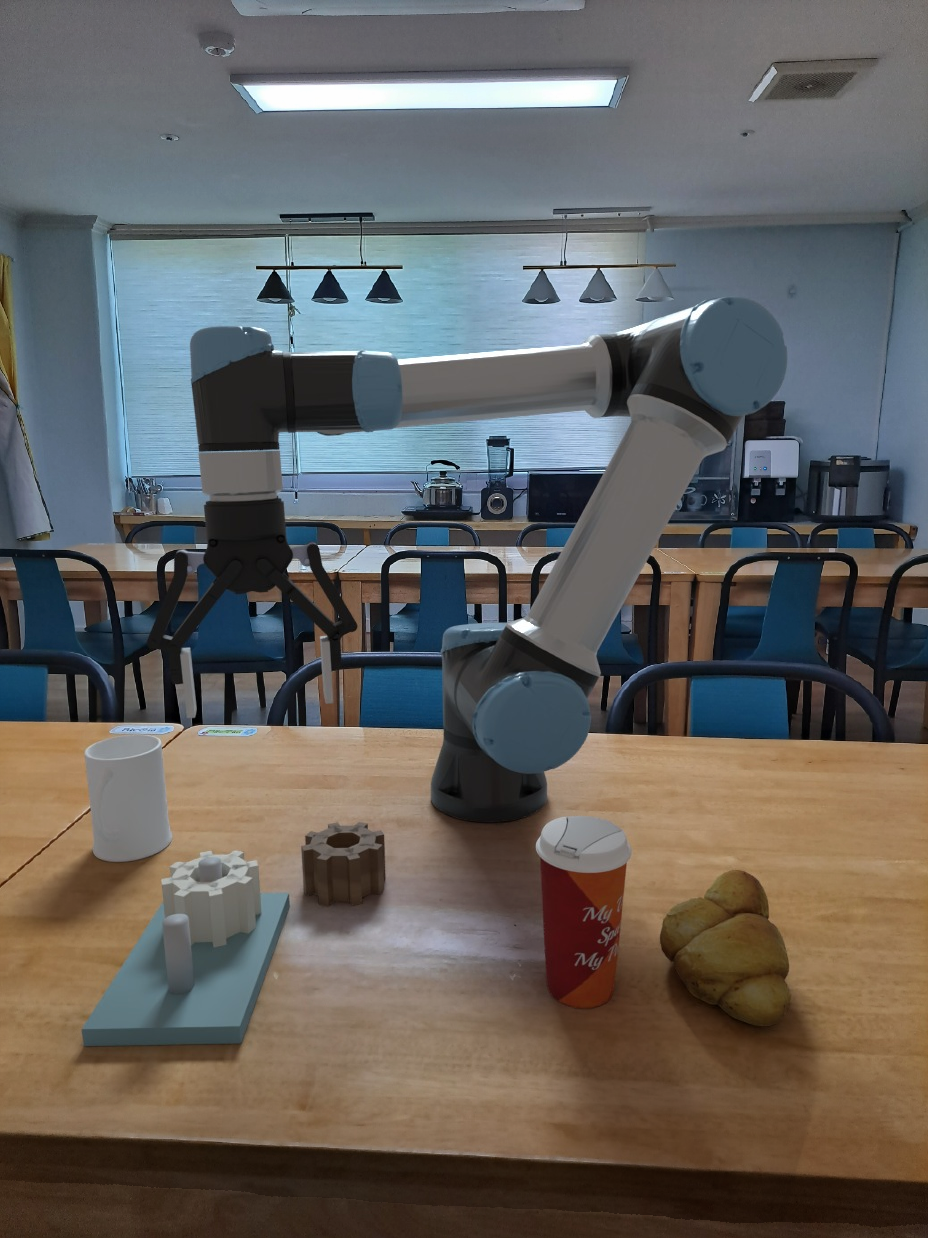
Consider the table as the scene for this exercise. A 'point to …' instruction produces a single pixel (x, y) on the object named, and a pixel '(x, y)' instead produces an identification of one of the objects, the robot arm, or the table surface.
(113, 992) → the gear board
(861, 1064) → the table surface
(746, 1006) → the bread roll
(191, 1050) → the table surface
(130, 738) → the mug
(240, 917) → the cream gear
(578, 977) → the paper cup
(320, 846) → the walnut gear
